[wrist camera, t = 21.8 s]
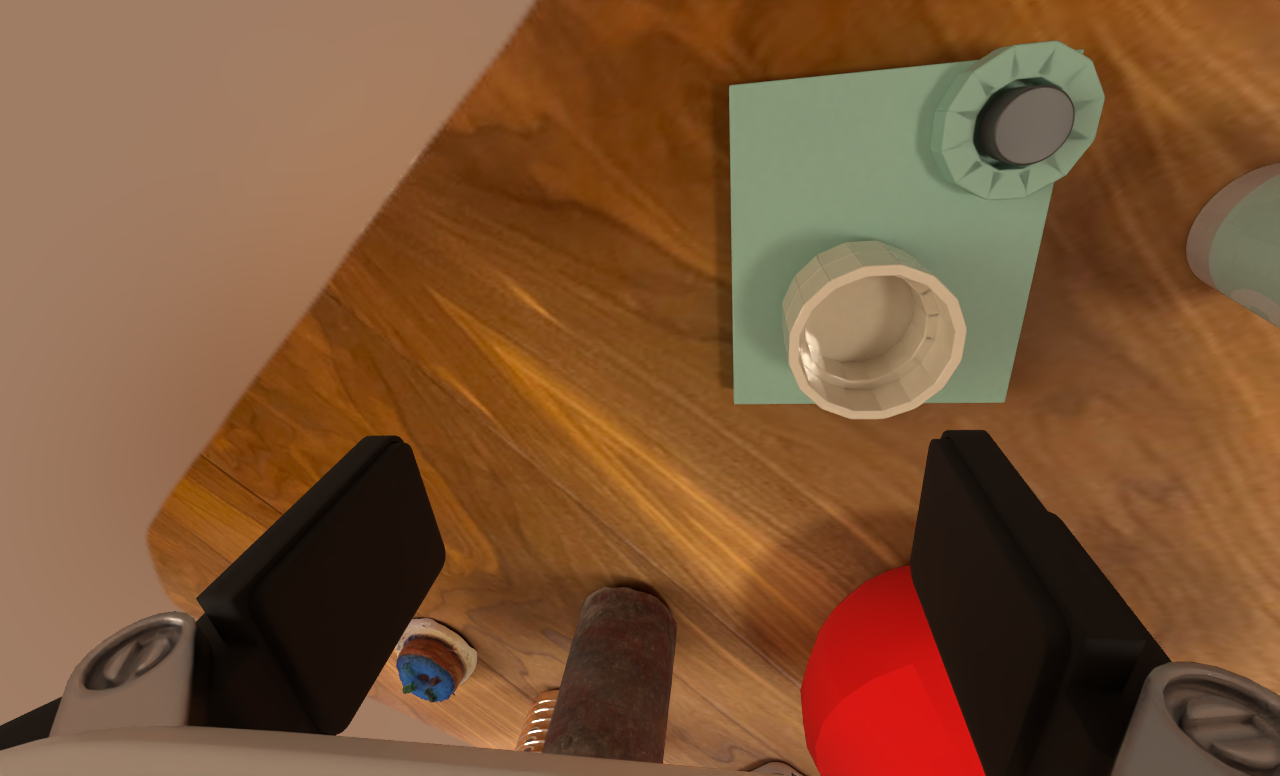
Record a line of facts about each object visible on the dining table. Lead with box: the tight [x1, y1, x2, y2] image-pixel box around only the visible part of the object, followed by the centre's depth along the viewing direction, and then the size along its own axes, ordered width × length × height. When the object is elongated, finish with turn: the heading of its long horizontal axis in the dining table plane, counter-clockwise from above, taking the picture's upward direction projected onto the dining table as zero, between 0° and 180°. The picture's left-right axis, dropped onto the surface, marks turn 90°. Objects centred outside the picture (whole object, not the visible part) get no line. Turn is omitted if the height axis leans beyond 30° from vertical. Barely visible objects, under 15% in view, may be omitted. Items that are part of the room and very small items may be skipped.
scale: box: [729, 41, 1105, 404], centre depth 27 cm, size 16×14×4 cm
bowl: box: [782, 240, 967, 419], centre depth 26 cm, size 7×7×5 cm
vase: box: [801, 565, 986, 776], centre depth 31 cm, size 18×18×19 cm
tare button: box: [979, 85, 1075, 165], centre depth 22 cm, size 3×3×2 cm
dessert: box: [396, 618, 477, 703], centre depth 48 cm, size 8×7×6 cm
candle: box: [541, 587, 677, 764], centre depth 35 cm, size 8×7×20 cm
